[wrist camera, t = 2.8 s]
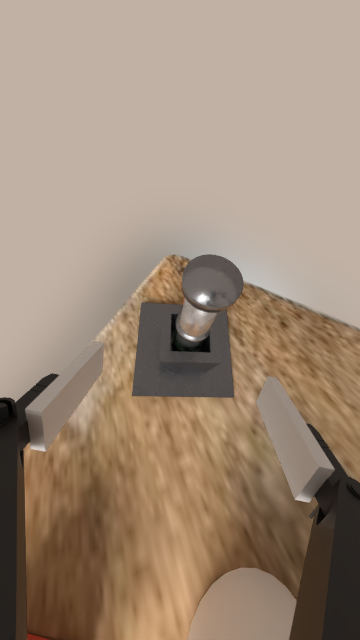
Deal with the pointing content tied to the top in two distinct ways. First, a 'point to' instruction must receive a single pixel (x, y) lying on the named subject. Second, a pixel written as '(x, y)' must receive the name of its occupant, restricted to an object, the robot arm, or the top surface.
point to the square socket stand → (180, 357)
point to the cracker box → (35, 637)
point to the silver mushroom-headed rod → (205, 299)
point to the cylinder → (244, 608)
